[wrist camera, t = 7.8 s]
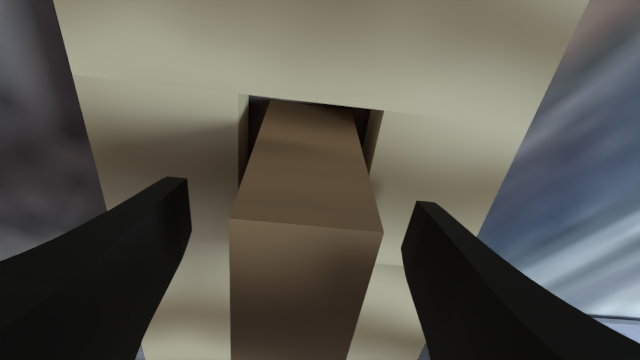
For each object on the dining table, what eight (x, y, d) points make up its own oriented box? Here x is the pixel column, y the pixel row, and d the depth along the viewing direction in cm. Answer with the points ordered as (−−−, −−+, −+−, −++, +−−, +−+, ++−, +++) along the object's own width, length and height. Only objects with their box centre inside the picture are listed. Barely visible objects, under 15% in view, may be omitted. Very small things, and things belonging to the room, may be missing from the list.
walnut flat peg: (331, 215, 15) (342, 372, 9) (264, 209, 15) (230, 366, 9) (351, 109, 13) (383, 232, 7) (270, 99, 12) (228, 218, 6)
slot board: (395, 357, 21) (402, 391, 19) (164, 343, 20) (150, 378, 18) (580, -89, 10) (638, -103, 8) (61, -177, 8) (-2, -214, 7)
